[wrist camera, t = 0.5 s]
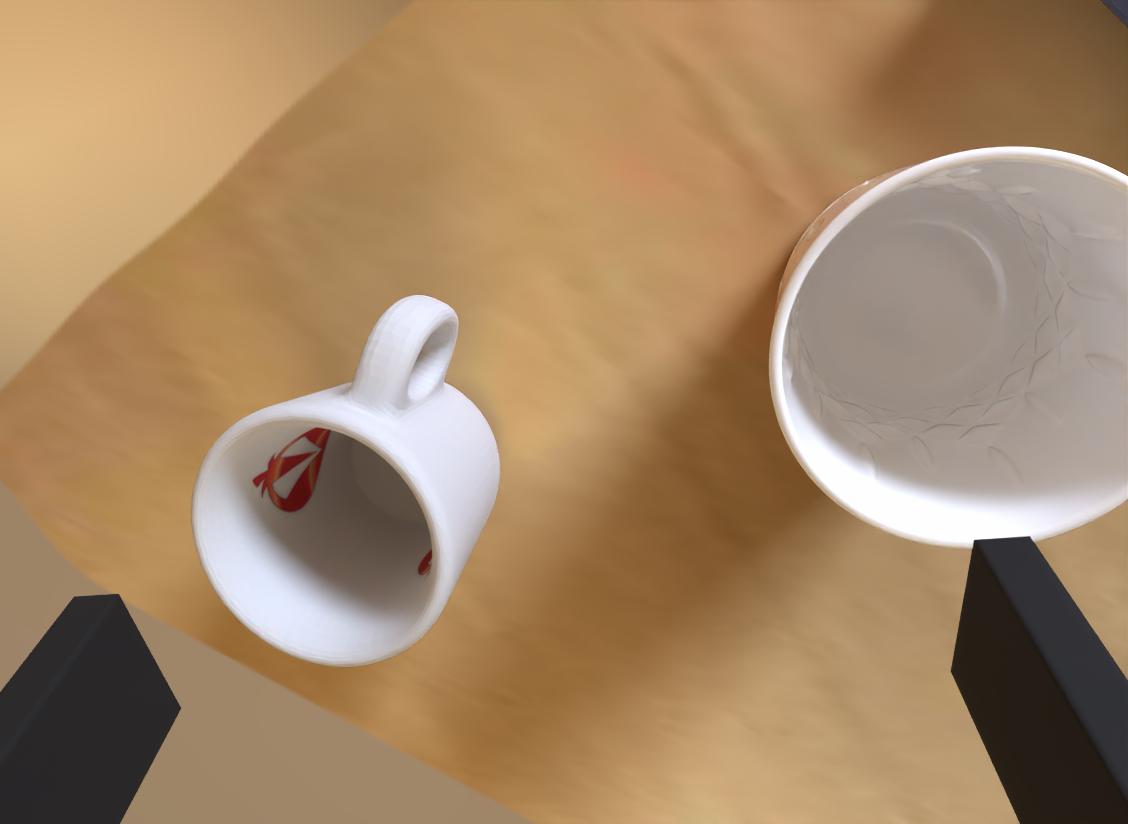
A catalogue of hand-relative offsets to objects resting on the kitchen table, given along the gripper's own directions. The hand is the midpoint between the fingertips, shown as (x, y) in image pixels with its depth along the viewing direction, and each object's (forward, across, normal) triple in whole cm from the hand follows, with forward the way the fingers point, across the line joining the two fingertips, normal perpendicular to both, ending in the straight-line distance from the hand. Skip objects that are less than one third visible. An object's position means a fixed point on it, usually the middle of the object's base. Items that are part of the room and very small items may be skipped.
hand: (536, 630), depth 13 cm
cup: (+16, +6, +6) cm, 18 cm away
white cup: (+15, -10, +2) cm, 18 cm away
